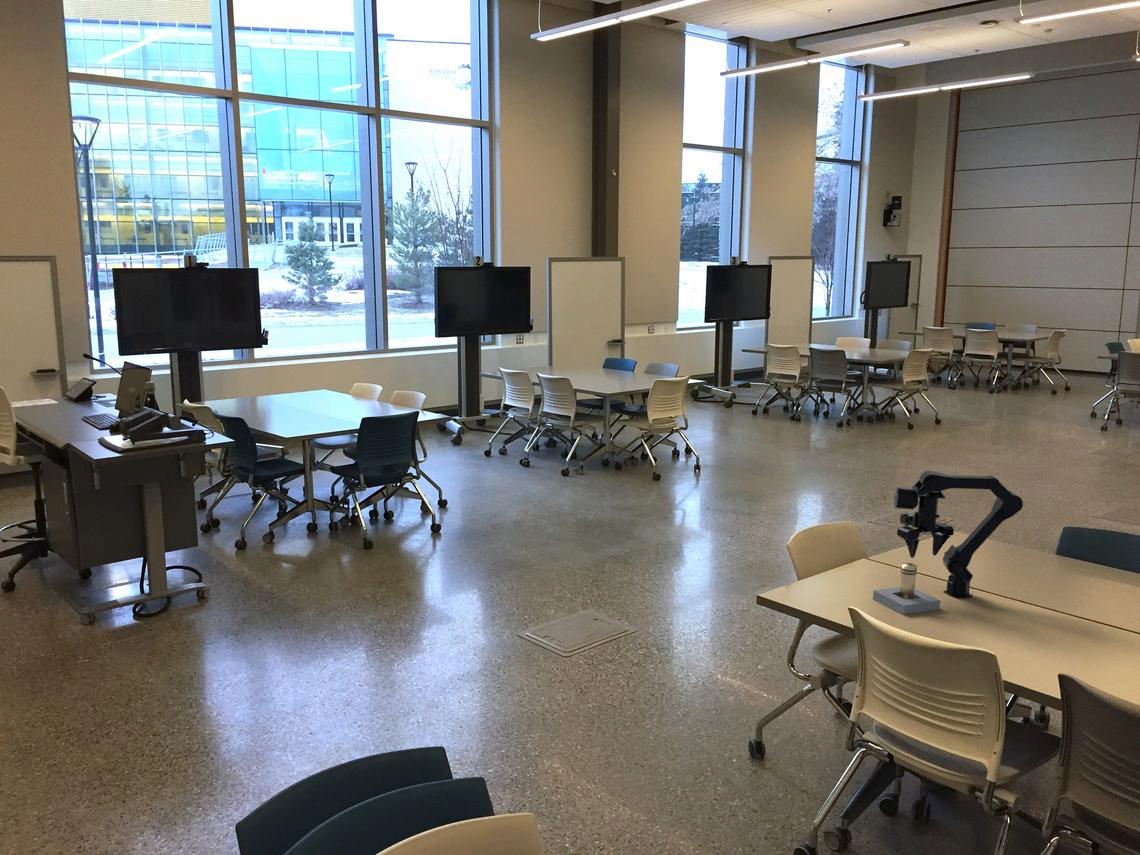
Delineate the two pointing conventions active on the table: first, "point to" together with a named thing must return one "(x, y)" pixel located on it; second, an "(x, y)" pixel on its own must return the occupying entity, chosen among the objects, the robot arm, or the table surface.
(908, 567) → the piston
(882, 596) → the grey square frame
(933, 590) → the table surface
